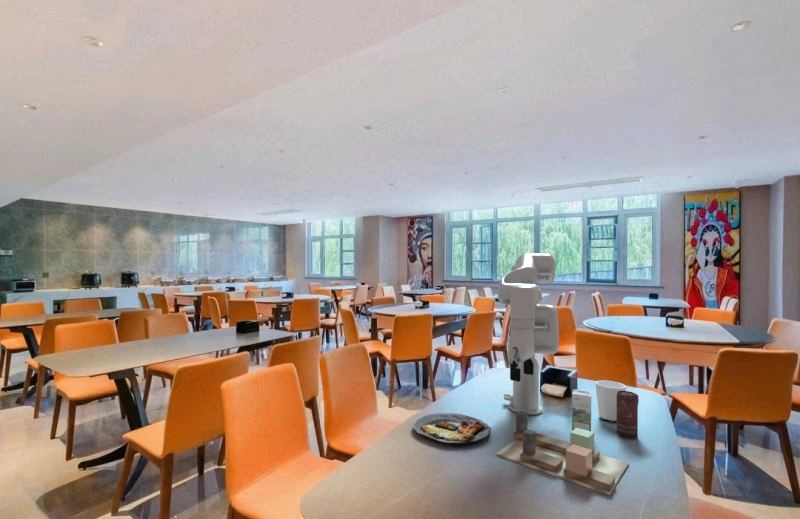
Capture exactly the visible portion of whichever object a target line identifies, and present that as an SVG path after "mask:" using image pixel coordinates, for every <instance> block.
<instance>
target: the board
mask: <svg viewBox="0 0 800 519" xmlns="http://www.w3.org/2000/svg"><path fill="white" fill-rule="evenodd" d="M535 451H537V452H541V453H544V454H547V455H550V456H553V457H556V458H559V459H562V460H563V466H562V467H561V468H560V469H559V470H558V471H557V472H554V471H551V470H549V469H546V468H543V467H540V466H537V465H534V464H531V463H528V462H526V461H523V460H520V454H521V453H523V440H520V439H517V438H515V439H514V440H513V441H512V442H511V443H508V445H507V446H505V447H503V448H502V449H501V450H499V451H498V452H497V453H496V456H497V457H500V458H503V459H505V460H509V461H512V462H514V463H517V464H519V465H523V466H525V467H528V468H531V469H532V470H533V469H534V470H537V471H540V472H542V473H545V474H548V475H552V476H554V477H557V478H559V479H562V480H565V481H568V482H570V483H572V484H573V483H574V484H575V485H578V486H581V487H585V488H587V489H589V490H593V491H596V492H598V493H602V494H604V495H607V496H610V495H611V494H612V492H613V490H614V489H615V487H616V485H617V484H618V483H619V482H620V479H621V478H622V476H623V475H624V473H626V470H627V469H628V467H629V465H630V464H629V462H625V461H623V460H619V459H616V458H613V457H609V456H607V455H606V456H605V455H602V454H600V457H599V458H598V459H597V460H596V461H595V463H594V462H592V469H593V470H596V471H599V472H602V473H605V474H609V475H612V476H615V485H614V486H613V488H612V489H611V491H610V492H608V491H605V490H603V489H600V488H597V487H594V486H591V485H588V484H585V483H582V482H580V481H577V480H574V479H571V478H568V477H565V476H564V468H565V467H566V454H565V453H562V452H559V451H555V450H552V449H549V448H546V447H543V446H539V445H536V447H535Z"/></svg>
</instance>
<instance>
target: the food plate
mask: <svg viewBox="0 0 800 519" xmlns="http://www.w3.org/2000/svg"><path fill="white" fill-rule="evenodd" d="M413 428H414V431H416V433H417V434H420V435H422V436H425V437H427V438H429V439H433V440H435V441H439V442H441V443H444V444H450V445H456V444H458V445H461V444H463V445H466V444H470V443H476V442H478V441H481V440H483V439H485V438H488V437H489V436H490V435H491V430H492V428H491V427H490V425H488V424H487V423H486V422H484V421H483V420H481V419H479V418H475V417H473V416H469V415H466V414H462V413H455V412H454V413H453V412H451V413H450V412H448V413H447V412H446V413H443V412H442V413H441V412H440V413H439V412H438V413H432V414H427V415H424V416H422V417H420V418H418V419H416V421H415V422H414V424H413Z"/></svg>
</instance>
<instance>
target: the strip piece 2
mask: <svg viewBox="0 0 800 519" xmlns="http://www.w3.org/2000/svg"><path fill="white" fill-rule="evenodd" d="M564 476H565V477H568V478H571V479H574V480H577V481H580V482H582V483H585V484H588V485H591V486H594V487H597V488H600V489H603V490H605V491H608V492H610V491H611V489H612V488H613V486H614V485H615V476H612V475H609V474H605V473H602V472H599V471H596V470H593V469H592V470H591V471H590V472H589V473H588V475H587V476H583V475H580V474H577V473H574V472H571V471H568V470H566V467H565V468H564Z"/></svg>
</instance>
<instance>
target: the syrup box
mask: <svg viewBox="0 0 800 519" xmlns="http://www.w3.org/2000/svg"><path fill="white" fill-rule="evenodd" d="M571 396H572V397H571V403H572V404H571V432H572V431H573V430H574V429H575V428H580V429H584V430H588V431H592V391H589V390H582V389H574V388H573V389H572V394H571Z"/></svg>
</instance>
